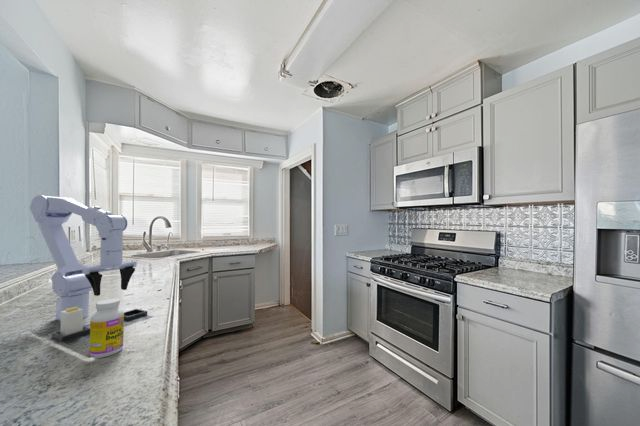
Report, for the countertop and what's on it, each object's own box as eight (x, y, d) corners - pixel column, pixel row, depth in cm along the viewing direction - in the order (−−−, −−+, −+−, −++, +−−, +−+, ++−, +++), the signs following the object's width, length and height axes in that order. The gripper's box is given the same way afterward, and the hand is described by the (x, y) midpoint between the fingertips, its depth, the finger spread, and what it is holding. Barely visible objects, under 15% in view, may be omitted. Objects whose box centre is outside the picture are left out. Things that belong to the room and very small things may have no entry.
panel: (45, 337, 74) (45, 330, 74) (130, 312, 94) (130, 307, 94) (68, 347, 68) (68, 340, 68) (154, 318, 88) (154, 312, 88)
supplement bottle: (104, 360, 62) (105, 306, 62) (82, 357, 63) (83, 304, 63) (129, 347, 68) (130, 298, 69) (109, 344, 69) (110, 296, 70)
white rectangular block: (60, 336, 73) (60, 309, 73) (76, 331, 76) (77, 305, 76) (66, 339, 71) (66, 310, 72) (82, 333, 75) (83, 307, 75)
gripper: (90, 254, 78) (90, 299, 77) (141, 249, 91) (141, 288, 90) (79, 253, 81) (78, 296, 80) (130, 248, 94) (129, 286, 93)
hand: (111, 292), depth 85 cm, fingers open, 7 cm apart
